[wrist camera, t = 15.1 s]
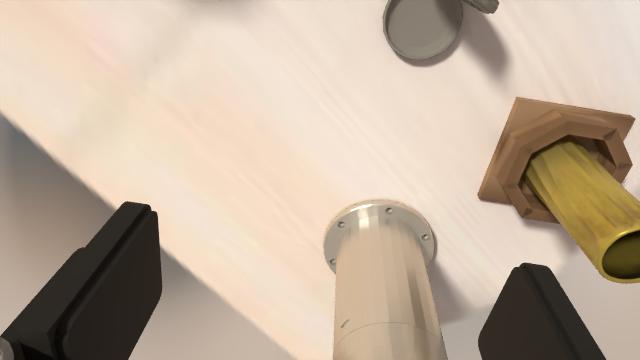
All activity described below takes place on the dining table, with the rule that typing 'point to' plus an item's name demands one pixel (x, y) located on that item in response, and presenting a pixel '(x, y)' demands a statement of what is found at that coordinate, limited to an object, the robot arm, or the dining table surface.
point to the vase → (589, 206)
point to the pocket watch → (426, 24)
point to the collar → (541, 130)
